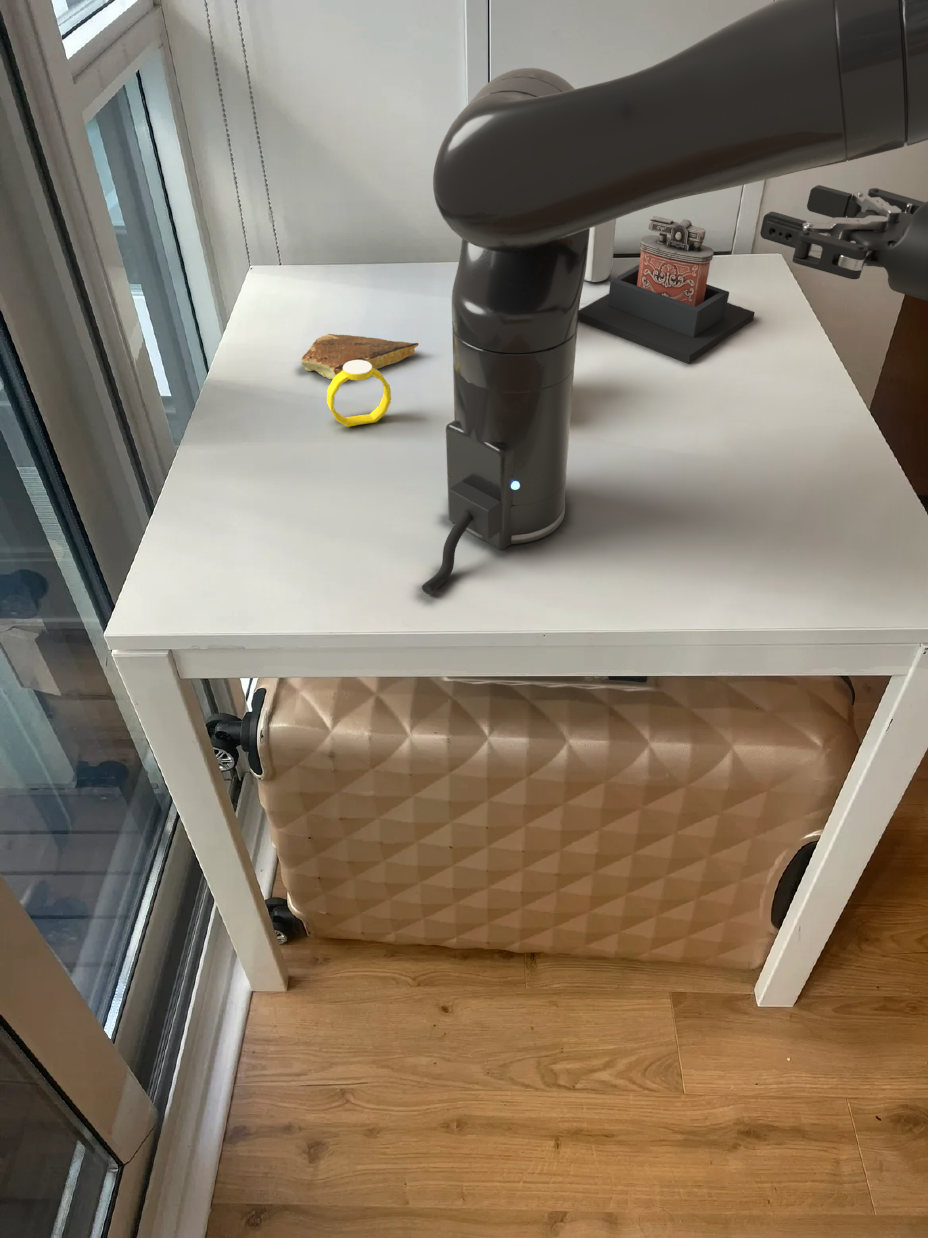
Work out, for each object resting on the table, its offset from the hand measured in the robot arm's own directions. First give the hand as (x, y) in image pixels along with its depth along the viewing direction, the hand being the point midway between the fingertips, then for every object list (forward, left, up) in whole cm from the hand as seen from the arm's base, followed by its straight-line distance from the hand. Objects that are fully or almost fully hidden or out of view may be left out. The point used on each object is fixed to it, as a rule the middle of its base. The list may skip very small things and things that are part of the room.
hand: (787, 209), depth 86 cm
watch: (-34, +23, -17) cm, 44 cm away
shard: (-26, +33, -17) cm, 45 cm away
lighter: (+3, +13, -16) cm, 20 cm away
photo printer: (+7, +29, -17) cm, 34 cm away
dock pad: (+3, +13, -16) cm, 21 cm away
